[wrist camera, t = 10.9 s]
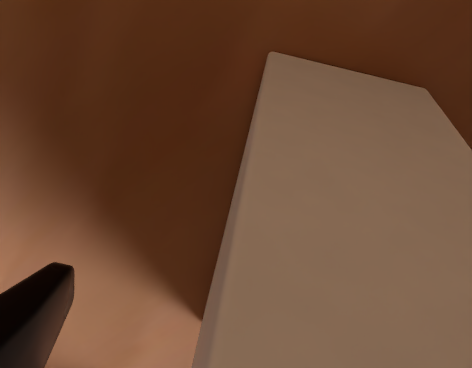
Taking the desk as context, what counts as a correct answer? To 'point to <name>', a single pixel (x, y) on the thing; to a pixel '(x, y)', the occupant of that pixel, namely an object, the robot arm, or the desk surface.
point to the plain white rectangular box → (344, 230)
